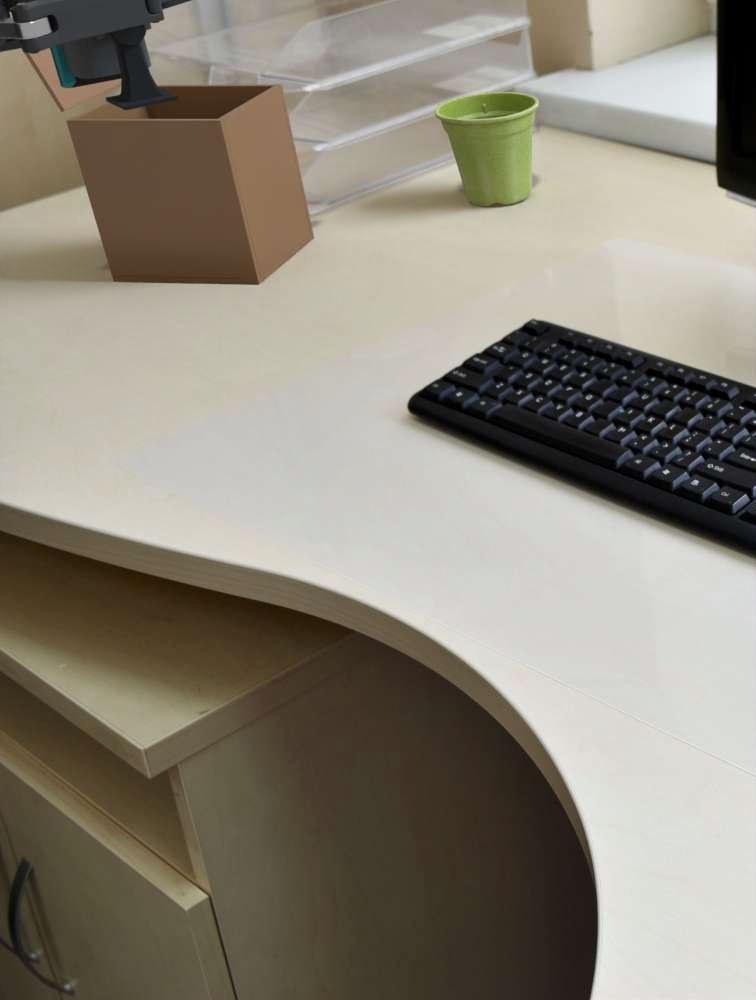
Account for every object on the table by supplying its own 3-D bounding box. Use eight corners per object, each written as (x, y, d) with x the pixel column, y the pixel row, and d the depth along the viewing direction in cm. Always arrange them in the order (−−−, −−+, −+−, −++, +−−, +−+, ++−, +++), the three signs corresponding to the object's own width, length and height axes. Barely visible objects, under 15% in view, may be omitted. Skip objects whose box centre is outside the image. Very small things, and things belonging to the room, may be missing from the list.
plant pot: (496, 220, 124) (482, 124, 120) (428, 202, 129) (413, 109, 125) (569, 192, 130) (559, 100, 126) (502, 175, 136) (490, 86, 131)
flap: (65, 110, 107) (61, 112, 108) (138, 76, 117) (134, 77, 117) (15, 32, 105) (12, 34, 105) (94, 3, 114) (90, 4, 114)
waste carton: (113, 282, 115) (65, 120, 108) (178, 236, 124) (138, 84, 117) (259, 284, 113) (220, 120, 106) (314, 237, 122) (282, 84, 115)
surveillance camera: (55, -86, 84) (5, -97, 90) (109, 113, 90) (58, 88, 96) (147, -96, 87) (92, -107, 93) (193, 96, 93) (138, 73, 99)
